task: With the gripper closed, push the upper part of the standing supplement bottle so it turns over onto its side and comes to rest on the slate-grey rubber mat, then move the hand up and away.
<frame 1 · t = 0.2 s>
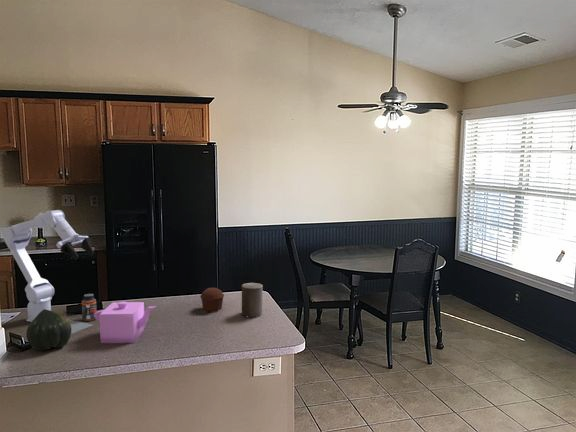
hand: (85, 256, 186), 31 cm above the worktop, tool tilted 45°, fingers open, 7 cm apart
muffin: (212, 309, 217), on the worktop
supplement bottle: (89, 319, 202), on the worktop
teapot: (126, 336, 183), on the worktop
squash: (49, 347, 172), on the worktop
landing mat: (65, 328, 191), on the worktop
grey lidded canister: (252, 314, 210), on the worktop
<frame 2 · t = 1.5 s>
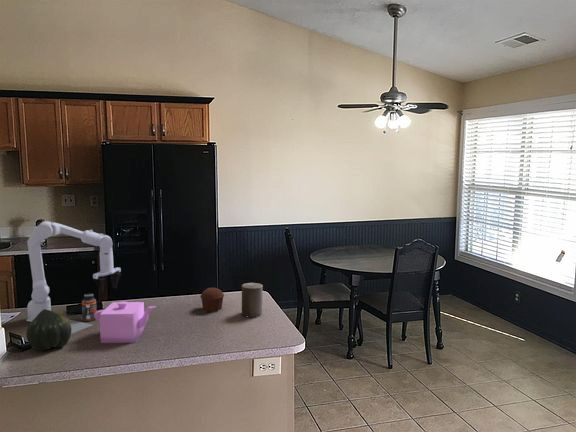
hand: (108, 290, 210), 11 cm above the worktop, tool pointing down, fingers open, 7 cm apart
nothing on the worktop moved.
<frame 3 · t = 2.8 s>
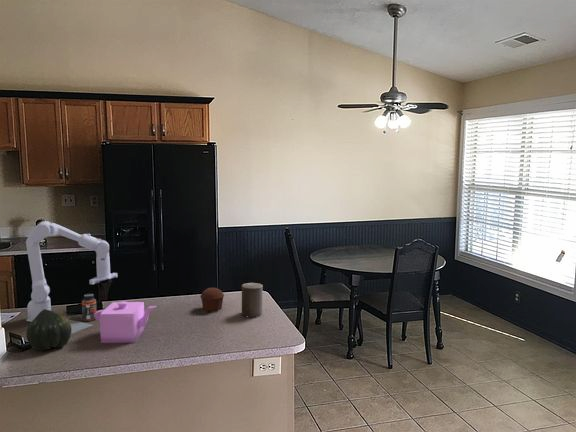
hand: (104, 295, 209), 8 cm above the worktop, tool pointing down, fingers closed
nothing on the worktop moved.
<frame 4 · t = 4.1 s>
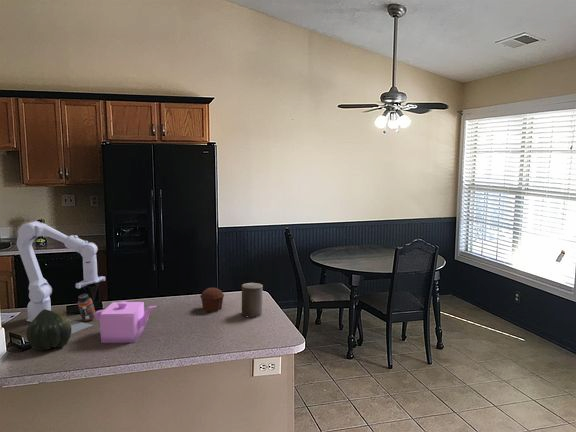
hand: (91, 299, 203), 8 cm above the worktop, tool pointing down, fingers closed
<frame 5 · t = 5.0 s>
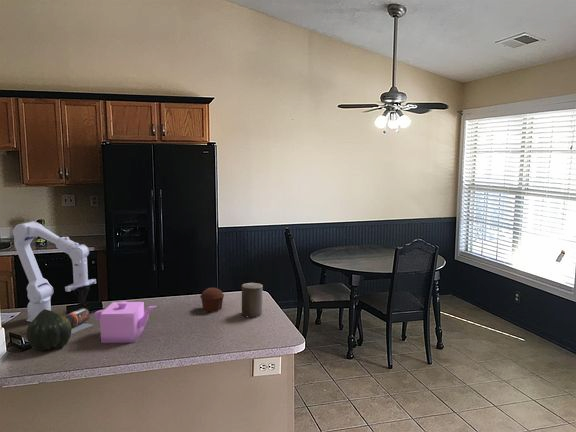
hand: (82, 303, 198), 8 cm above the worktop, tool pointing down, fingers closed
supplement bottle: (85, 313, 199), point 3 cm above the worktop, touching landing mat
everything else where it was.
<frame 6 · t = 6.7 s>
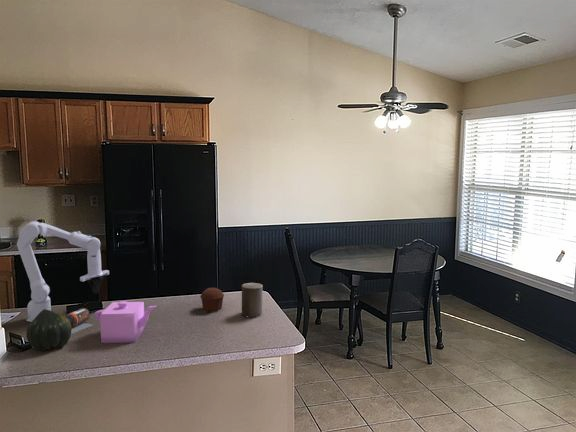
hand: (95, 293, 208), 10 cm above the worktop, tool pointing down, fingers closed
nothing on the worktop moved.
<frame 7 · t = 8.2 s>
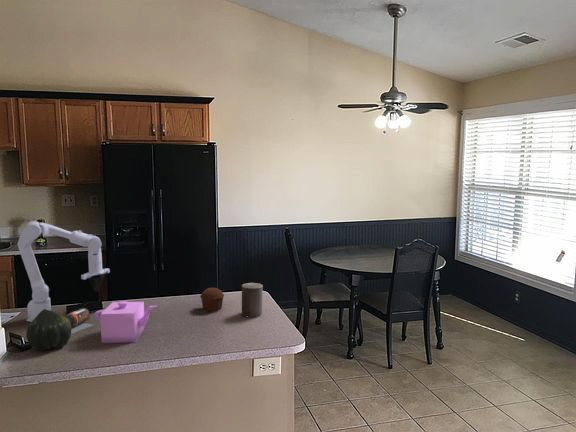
hand: (96, 291, 210), 10 cm above the worktop, tool pointing down, fingers closed
nothing on the worktop moved.
at the end: supplement bottle tilted 91°; supplement bottle inside the target area (5.9 cm from its centre), point 3.4 cm above the worktop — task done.
